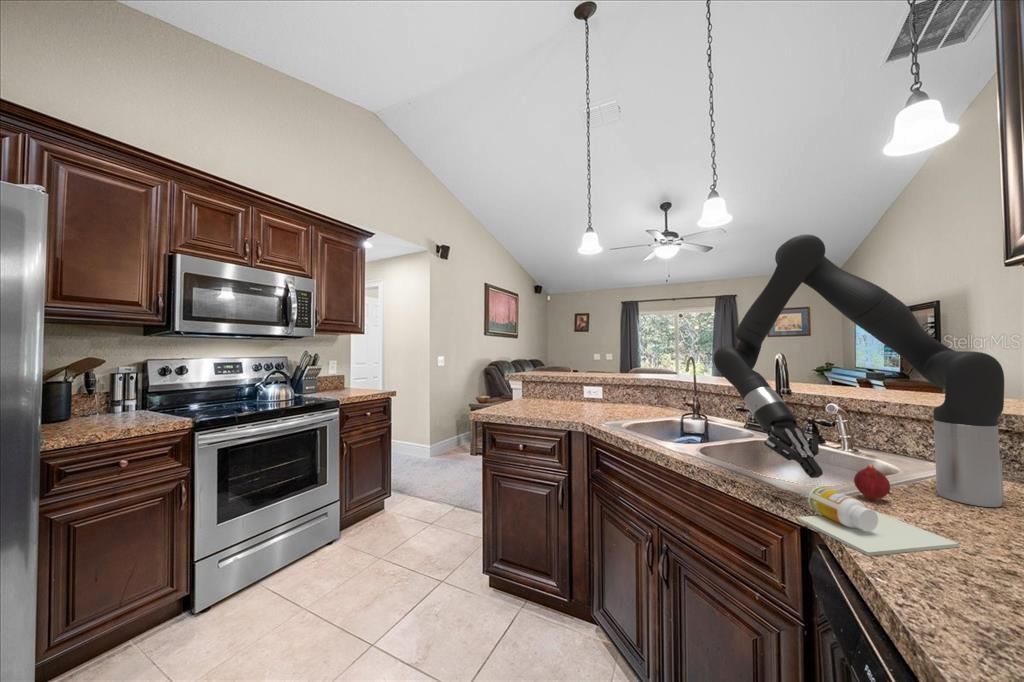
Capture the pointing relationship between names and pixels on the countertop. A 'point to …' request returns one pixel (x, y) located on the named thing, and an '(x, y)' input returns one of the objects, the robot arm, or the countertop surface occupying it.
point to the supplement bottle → (842, 509)
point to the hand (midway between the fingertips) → (817, 476)
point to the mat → (880, 536)
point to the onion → (872, 483)
